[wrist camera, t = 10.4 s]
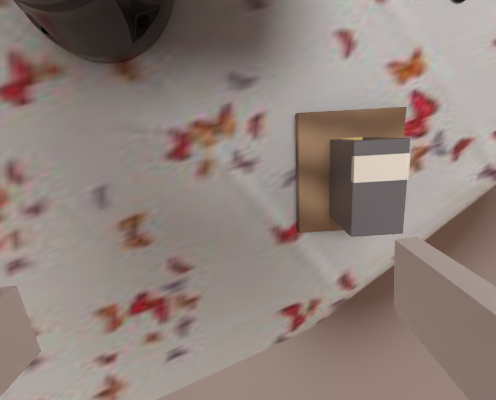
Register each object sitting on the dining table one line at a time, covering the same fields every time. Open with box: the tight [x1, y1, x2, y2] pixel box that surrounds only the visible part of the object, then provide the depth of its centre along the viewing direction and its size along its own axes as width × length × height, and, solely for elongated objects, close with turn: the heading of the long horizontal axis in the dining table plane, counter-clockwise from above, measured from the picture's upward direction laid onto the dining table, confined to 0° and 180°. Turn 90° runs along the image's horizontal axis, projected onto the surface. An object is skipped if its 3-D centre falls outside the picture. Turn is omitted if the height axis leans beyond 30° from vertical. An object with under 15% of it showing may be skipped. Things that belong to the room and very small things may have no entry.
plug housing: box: [329, 137, 410, 237], centre depth 29 cm, size 9×5×7 cm, turn 3°
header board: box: [296, 107, 406, 233], centre depth 31 cm, size 14×12×6 cm
